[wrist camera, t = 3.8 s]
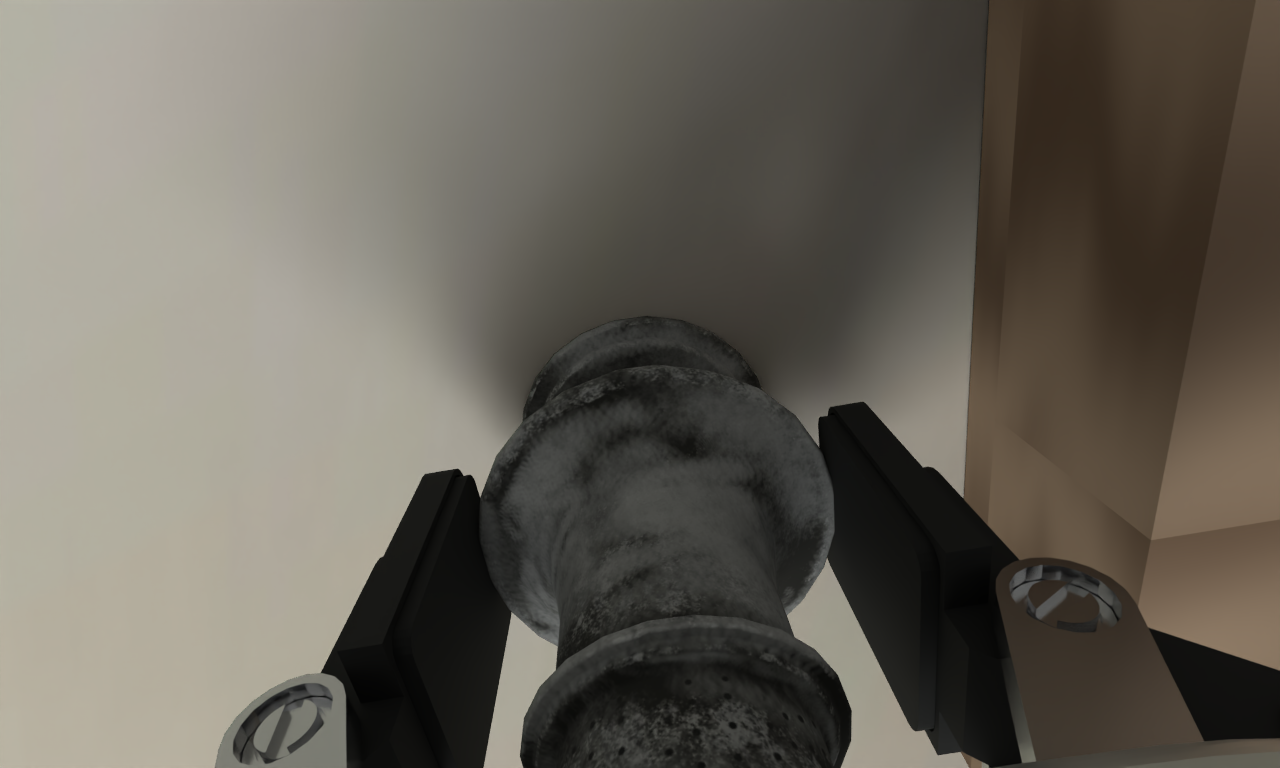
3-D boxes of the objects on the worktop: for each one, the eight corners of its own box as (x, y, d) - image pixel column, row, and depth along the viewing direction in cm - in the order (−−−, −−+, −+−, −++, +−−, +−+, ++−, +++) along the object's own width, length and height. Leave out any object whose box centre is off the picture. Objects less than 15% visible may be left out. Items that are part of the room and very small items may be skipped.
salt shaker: (466, 344, 13) (-389, 1809, 2) (754, 267, 12) (1888, 1440, 1) (555, 572, 15) (428, 1823, 4) (800, 511, 15) (1382, 1686, 4)
